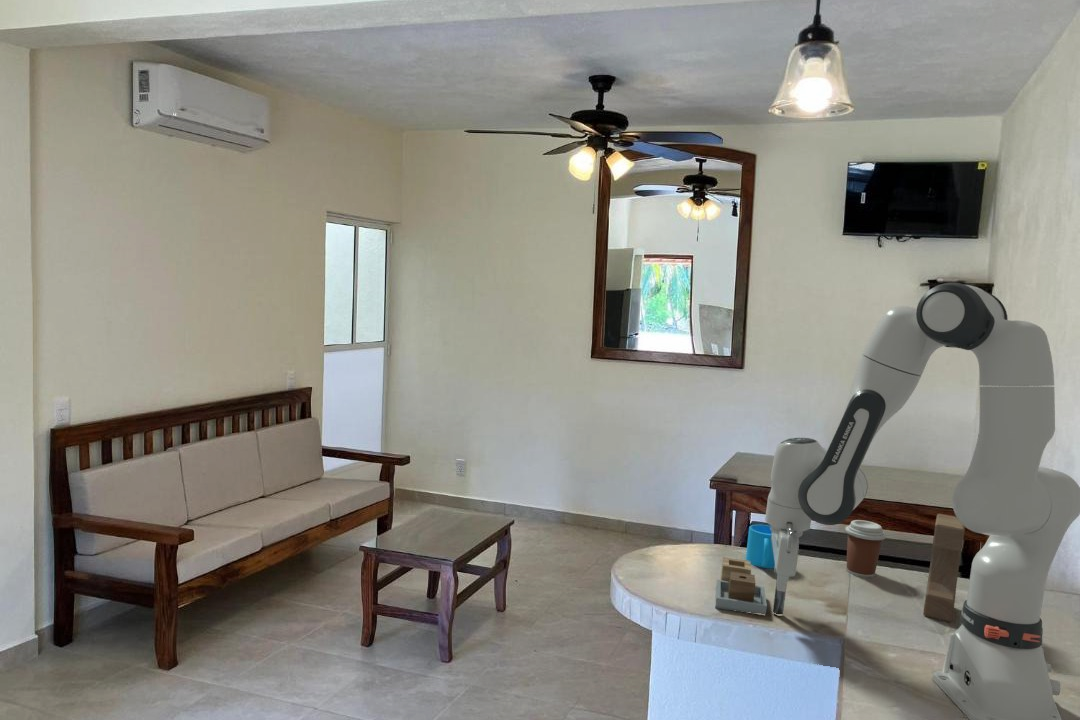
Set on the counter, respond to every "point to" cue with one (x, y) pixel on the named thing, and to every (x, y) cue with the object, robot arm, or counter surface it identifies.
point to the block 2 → (741, 586)
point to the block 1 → (734, 567)
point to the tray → (739, 605)
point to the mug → (760, 546)
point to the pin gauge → (779, 601)
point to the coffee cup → (863, 547)
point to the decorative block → (944, 568)
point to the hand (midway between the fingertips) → (779, 581)
